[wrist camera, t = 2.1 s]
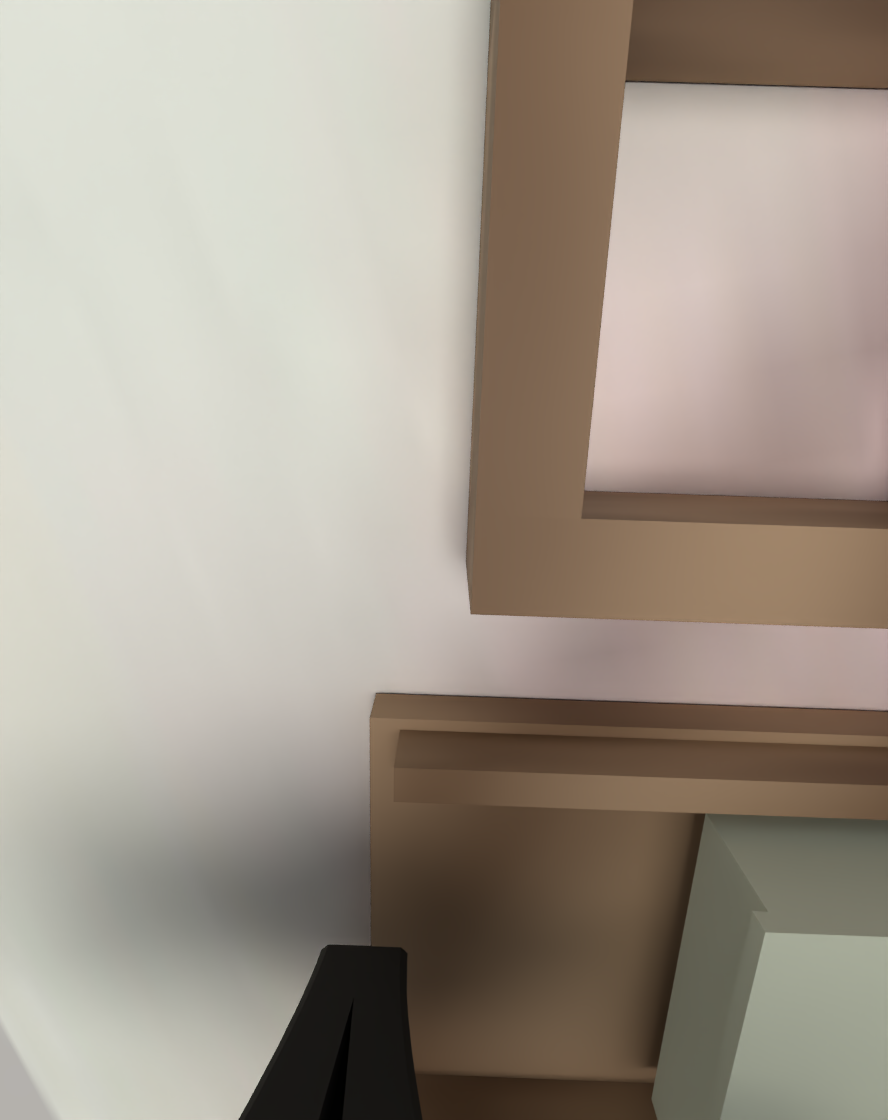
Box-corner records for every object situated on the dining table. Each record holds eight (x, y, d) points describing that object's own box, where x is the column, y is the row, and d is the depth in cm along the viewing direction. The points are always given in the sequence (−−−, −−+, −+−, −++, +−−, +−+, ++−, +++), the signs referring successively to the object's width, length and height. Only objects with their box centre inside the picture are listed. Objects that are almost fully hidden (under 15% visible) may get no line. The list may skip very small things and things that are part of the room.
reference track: (1417, 730, 10) (1629, 800, 8) (1211, 1088, 12) (1338, 1202, 10) (376, 693, 10) (360, 754, 8) (376, 1056, 12) (364, 1162, 10)
